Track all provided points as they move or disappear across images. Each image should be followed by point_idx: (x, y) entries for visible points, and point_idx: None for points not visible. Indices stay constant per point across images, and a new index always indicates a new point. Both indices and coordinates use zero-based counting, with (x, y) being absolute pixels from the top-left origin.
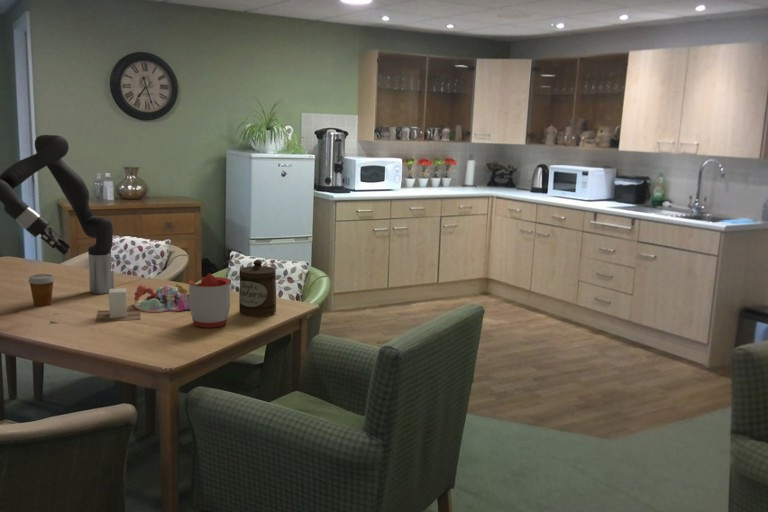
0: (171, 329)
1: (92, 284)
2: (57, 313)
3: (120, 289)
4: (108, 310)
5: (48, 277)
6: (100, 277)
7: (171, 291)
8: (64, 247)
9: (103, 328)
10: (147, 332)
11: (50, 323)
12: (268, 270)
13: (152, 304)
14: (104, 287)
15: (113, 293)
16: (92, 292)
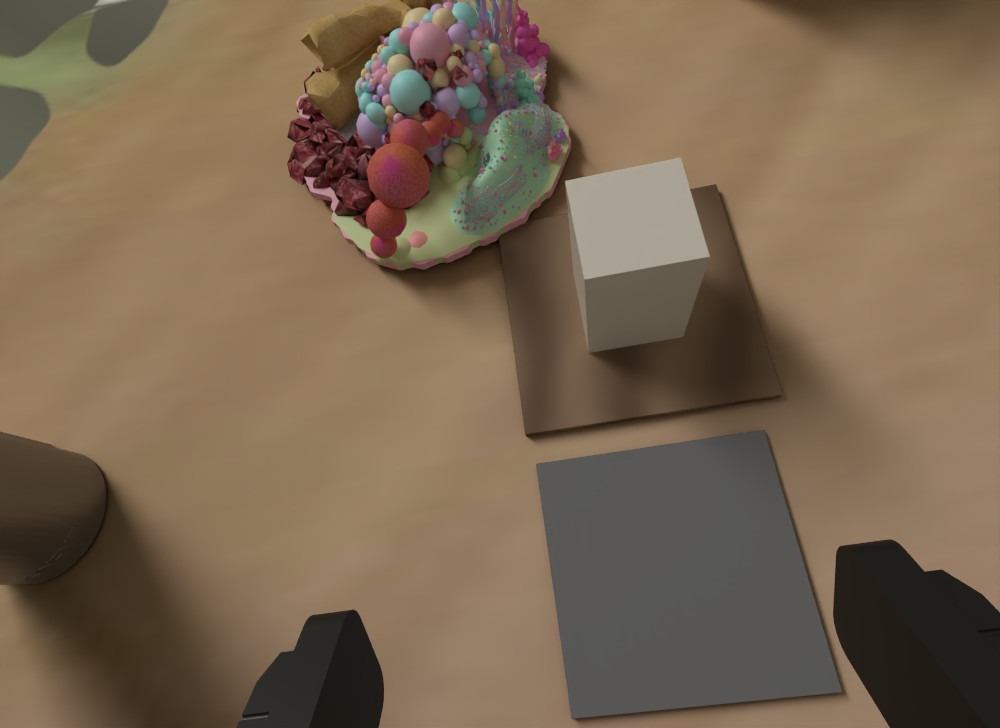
0: (849, 42)
1: (28, 553)
2: (569, 690)
3: (602, 207)
4: (518, 376)
5: None
6: (6, 487)
7: (468, 28)
8: (952, 629)
9: (879, 333)
10: (921, 120)
11: (839, 684)
12: None
13: (528, 145)
14: (73, 476)
15: (700, 233)
16: (75, 558)
